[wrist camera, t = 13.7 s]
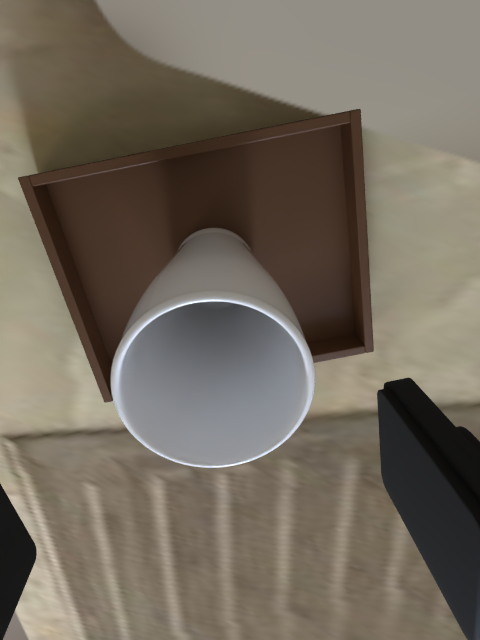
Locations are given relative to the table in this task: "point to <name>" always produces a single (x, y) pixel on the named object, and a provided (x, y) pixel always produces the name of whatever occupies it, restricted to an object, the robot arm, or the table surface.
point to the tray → (216, 212)
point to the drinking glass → (212, 358)
